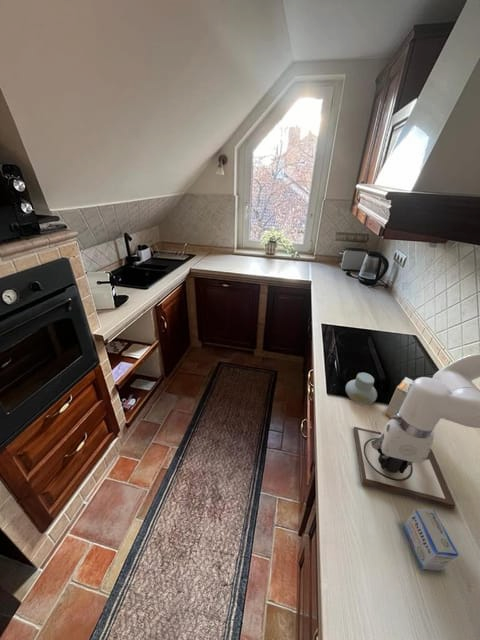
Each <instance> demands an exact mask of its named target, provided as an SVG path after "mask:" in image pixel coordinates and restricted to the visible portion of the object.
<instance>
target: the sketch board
mask: <svg viewBox="0 0 480 640" xmlns="http://www.w3.org/2000/svg"><path fill="white" fill-rule="evenodd" d="M352 430H353V437H354V444H355V449H356V456H357V462H358V469H359V475H360V482H361V483H360V484H361V486H366V487H370V488H373V489H377V490H381V491H385V492H388V493H389V492H390V493H393V494H397V495H400V496H404V497H409V498H411V499H416V500H420V501H424V502H426V503H432V504H435V505H438V506H442V507H446V508H451V509H455V507H457V505H456V502H455V500H454V498H453V495H452V494H451V491H450V489H449V487H448V484H447V482H446V479H445V477H444V475H443V473H442V472H443V471H442V470H441V468H440V466H439V463H438V461H437V458H436V456H435V454H434V452H433V449H432V448H431V449H430V452H429V454H428V457H429V459H428V460H425V461H424V462H422V463H415V462H414V463H412V465H408V467H407V469H405V471H404V472H403V474H402V473H400V472H399V470H398V472H396V473H393V472H390V471H388V470H387V469H386V468H385V469H382V468H381V464H380V463H379V461H378V458H379V456H380V453H379V452H378V450H376V449H374V448H373V447H372V445H371V442H372V441H374V440H376V439H378V438H380V435H381V433H382V431H381V432H379V431H376V430H371V429H367V428H362V427H356V426H353V429H352Z"/></svg>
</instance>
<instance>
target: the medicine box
mask: <svg viewBox="0 0 480 640" xmlns="http://www.w3.org/2000/svg"><path fill="white" fill-rule="evenodd" d="M402 528H403V530H404V533H405V535H406V537H407V540H408V542H409V544H410V546H411V549H412V551H413V553H414V555H415V558H416V561H417V562H418V565H419V567H420V569H421V570H429V571H430V570H431V571H443V570H444V569H445V568H446V567H447V566H448V565H449V564H450V563H452V561H453V560H455V559H456V558H457V557H459V556H460V554H459V552H458V550H457V548H456V547H455V545H454V543H453V542H452V539H451V537H450V536H449V534H448V532H447V530H446V529H445V527H444V525H443V523H442V521H441V520H440V517H439V516H438V514H437V512H436V510H435V509H428V508H427V509H426V508H416V509H415V510H413V512H412V513H411V514H410V516H409V517H408V518H407V520H406V521H405V522H404V523H403V525H402Z"/></svg>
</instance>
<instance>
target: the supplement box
mask: <svg viewBox="0 0 480 640" xmlns="http://www.w3.org/2000/svg"><path fill="white" fill-rule="evenodd" d="M414 381H415V380H413V379H411V378H409V377H407V376H405V377H404V378H403V379H402V380H401V382H400V383H399V384H398V385H397V386H396V388H395V390H394V392H393V395H392V397H391V399H390V402H389V404H388V406H387V408H386V410H385V413H384V414H385V415H386V416H388V417H389V418H391V414H397V413H398V410H400V408H401V406H402V404H403V402H404V400H405V398H406V396H407V394H408V391H409V389H410V387H411V385H412V383H413V382H414Z"/></svg>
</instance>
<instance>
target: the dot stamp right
mask: <svg viewBox="0 0 480 640" xmlns="http://www.w3.org/2000/svg"><path fill="white" fill-rule="evenodd" d="M388 460H389V461H388V463H387V465H386V467H385V468H386V469H387V470H388V471H390V472H393V473H396V472H398V470H399V469H400V467H401V465H402V463H403V462H404V460H402V459H398V458H394V457H389V458H388Z"/></svg>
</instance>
